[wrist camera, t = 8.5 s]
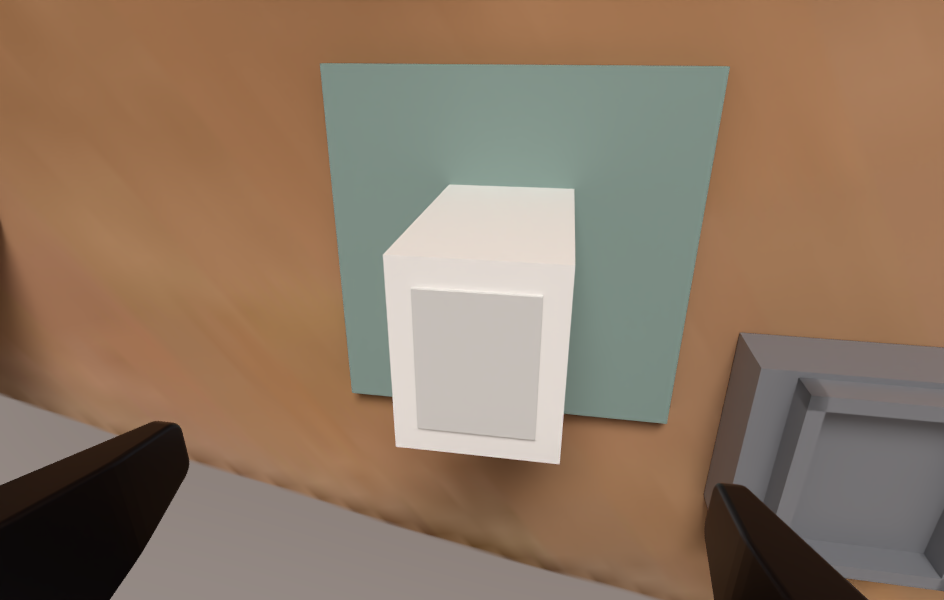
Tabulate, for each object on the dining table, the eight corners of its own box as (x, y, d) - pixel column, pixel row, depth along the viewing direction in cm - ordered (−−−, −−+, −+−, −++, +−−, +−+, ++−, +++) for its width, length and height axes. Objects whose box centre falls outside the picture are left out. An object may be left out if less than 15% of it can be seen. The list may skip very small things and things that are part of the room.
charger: (574, 188, 17) (575, 267, 11) (563, 331, 19) (559, 467, 13) (449, 184, 18) (381, 256, 12) (451, 323, 20) (394, 449, 14)
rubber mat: (724, 66, 16) (729, 66, 15) (664, 414, 21) (667, 423, 20) (327, 63, 18) (319, 63, 17) (357, 384, 23) (352, 392, 22)
